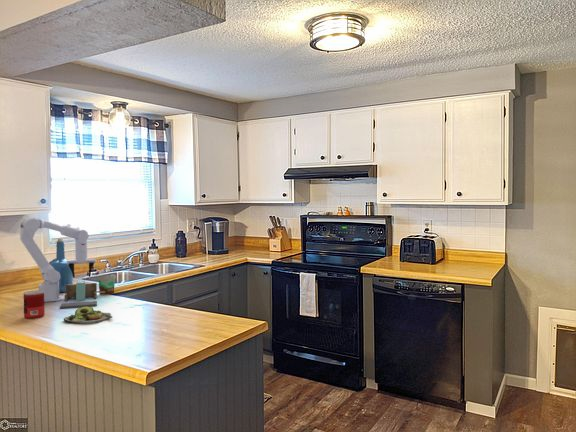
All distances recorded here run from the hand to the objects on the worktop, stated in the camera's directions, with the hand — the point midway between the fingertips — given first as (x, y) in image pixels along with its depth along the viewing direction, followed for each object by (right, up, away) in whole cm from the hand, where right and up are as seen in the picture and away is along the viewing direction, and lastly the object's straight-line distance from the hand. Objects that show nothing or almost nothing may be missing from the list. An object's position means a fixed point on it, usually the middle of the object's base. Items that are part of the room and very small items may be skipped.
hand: (81, 277), depth 247 cm
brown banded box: (+2, -10, -6) cm, 12 cm away
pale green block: (+3, -11, -7) cm, 13 cm away
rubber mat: (+9, -11, -24) cm, 28 cm away
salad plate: (+25, -12, -50) cm, 57 cm away
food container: (+11, -10, +9) cm, 18 cm away
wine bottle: (-19, -10, +15) cm, 27 cm away
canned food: (0, -12, -46) cm, 47 cm away
